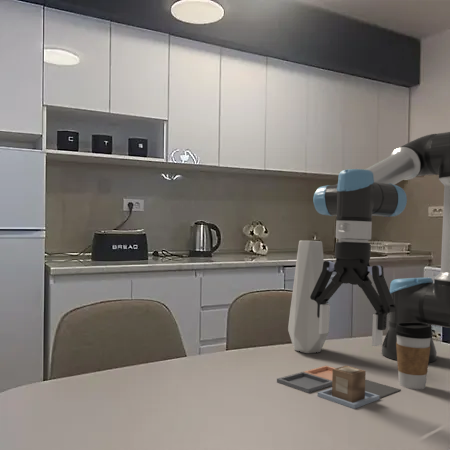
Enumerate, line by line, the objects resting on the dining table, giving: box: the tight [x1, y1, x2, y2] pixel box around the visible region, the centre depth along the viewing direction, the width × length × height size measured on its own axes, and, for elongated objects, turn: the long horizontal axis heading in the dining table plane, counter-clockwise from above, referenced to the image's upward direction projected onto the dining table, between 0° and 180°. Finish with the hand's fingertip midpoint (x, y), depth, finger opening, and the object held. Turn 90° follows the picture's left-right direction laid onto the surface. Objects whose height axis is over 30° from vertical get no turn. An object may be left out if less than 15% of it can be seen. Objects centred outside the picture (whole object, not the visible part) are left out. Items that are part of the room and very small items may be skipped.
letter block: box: [331, 365, 367, 403], centre depth 110 cm, size 5×5×6 cm
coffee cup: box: [395, 322, 434, 390], centre depth 121 cm, size 8×8×15 cm
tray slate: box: [316, 387, 380, 410], centre depth 110 cm, size 9×9×1 cm
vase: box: [287, 239, 329, 354], centre depth 152 cm, size 12×12×33 cm
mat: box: [365, 379, 401, 400], centre depth 117 cm, size 9×9×1 cm
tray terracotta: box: [303, 365, 336, 381], centre depth 126 cm, size 9×9×1 cm
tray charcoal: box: [276, 371, 332, 394], centre depth 119 cm, size 9×9×1 cm
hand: (349, 339), depth 110 cm, fingers open, 13 cm apart
